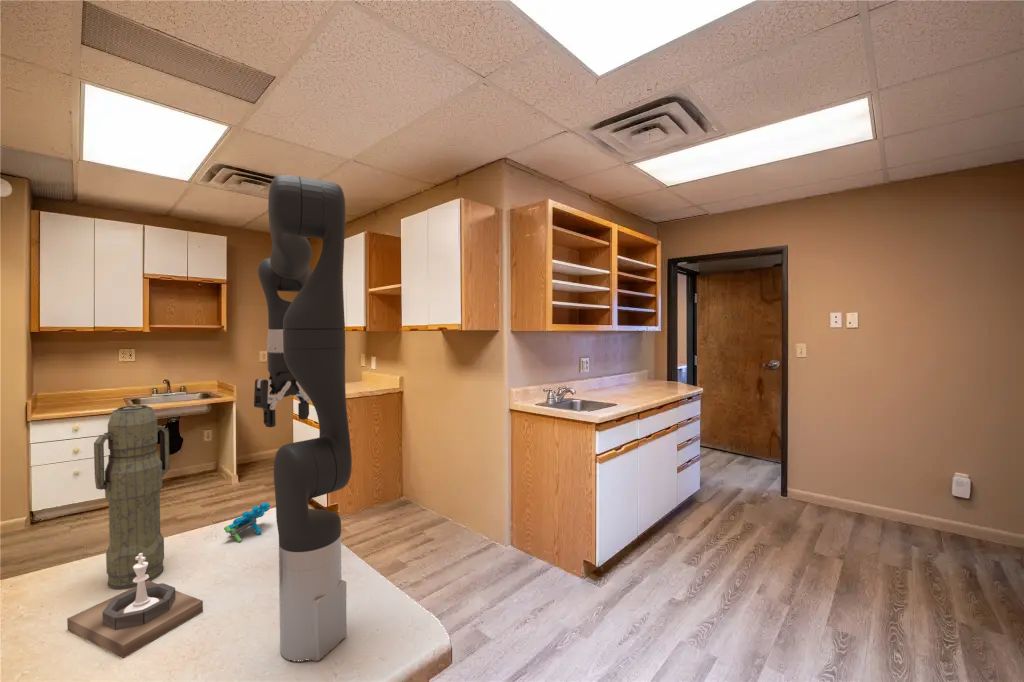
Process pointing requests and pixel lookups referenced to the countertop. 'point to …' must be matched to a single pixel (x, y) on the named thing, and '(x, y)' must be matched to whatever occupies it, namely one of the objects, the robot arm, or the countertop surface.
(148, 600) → the chess piece
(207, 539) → the countertop surface
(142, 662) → the countertop surface
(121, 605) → the socket board
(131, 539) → the thermos
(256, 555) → the countertop surface
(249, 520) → the blue and green toy
